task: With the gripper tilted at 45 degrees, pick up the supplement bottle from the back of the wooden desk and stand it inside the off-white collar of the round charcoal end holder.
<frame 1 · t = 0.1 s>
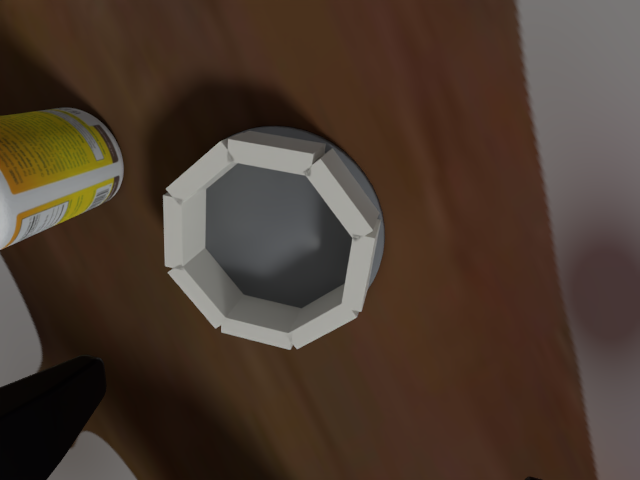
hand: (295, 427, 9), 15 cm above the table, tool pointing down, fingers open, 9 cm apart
end holder: (281, 230, 24), on the table
supplement bottle: (88, 156, 25), on the table
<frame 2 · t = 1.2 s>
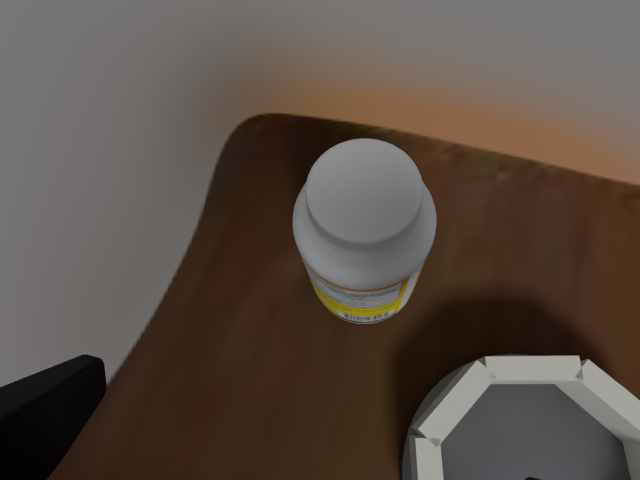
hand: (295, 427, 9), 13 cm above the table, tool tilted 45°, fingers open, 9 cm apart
supplement bottle: (362, 277, 24), on the table
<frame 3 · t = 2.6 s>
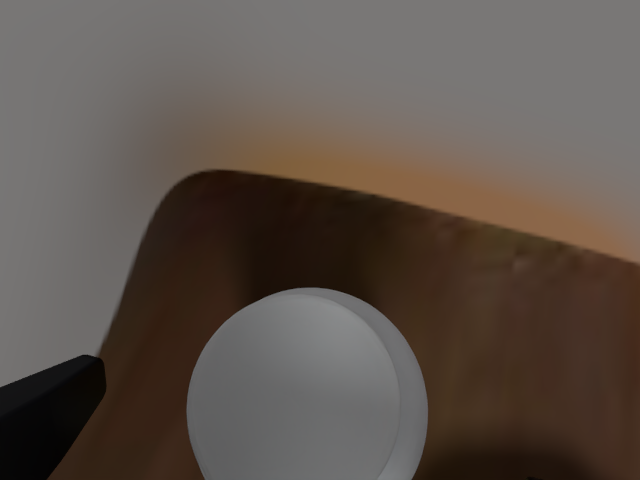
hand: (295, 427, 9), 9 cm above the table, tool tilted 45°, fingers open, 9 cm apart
supplement bottle: (328, 409, 17), on the table
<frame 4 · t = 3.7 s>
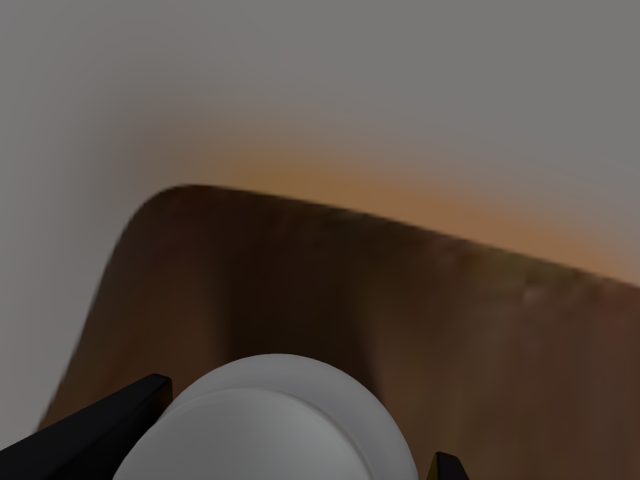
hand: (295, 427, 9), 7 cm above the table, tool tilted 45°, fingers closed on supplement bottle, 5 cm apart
supplement bottle: (313, 464, 15), on the table, touching gripper
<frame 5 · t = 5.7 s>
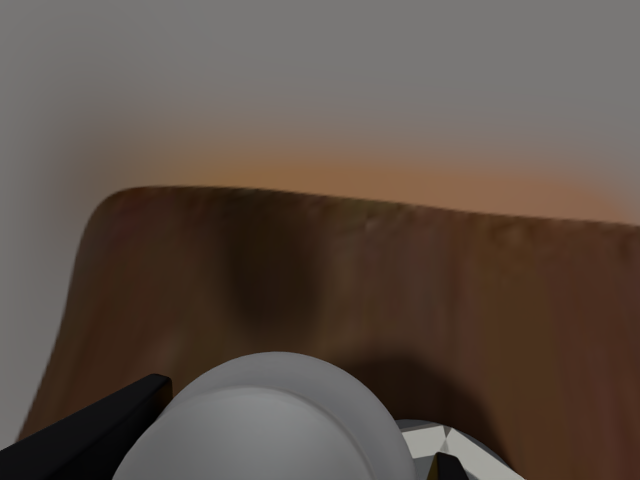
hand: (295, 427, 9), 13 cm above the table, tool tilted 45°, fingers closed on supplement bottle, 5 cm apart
supplement bottle: (312, 462, 15), point 6 cm above the table, touching gripper
when the fingers open (9 cm above the table, at t = 7.7 s): supplement bottle stays where it is, resting on end holder.
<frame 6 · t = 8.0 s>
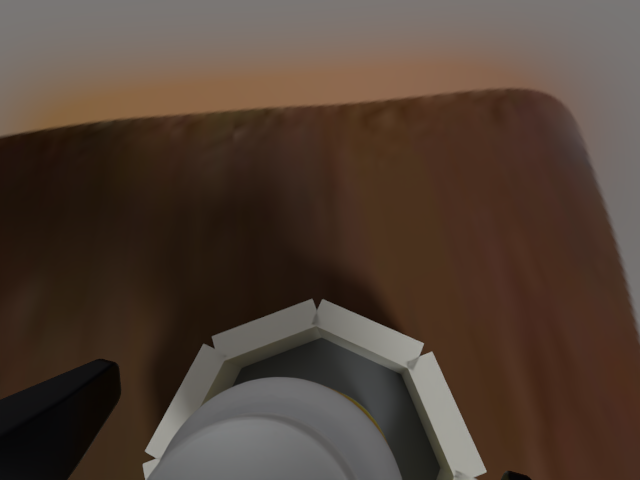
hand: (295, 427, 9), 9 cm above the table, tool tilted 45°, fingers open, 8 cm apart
end holder: (317, 458, 17), on the table
supplement bottle: (316, 466, 16), resting on end holder
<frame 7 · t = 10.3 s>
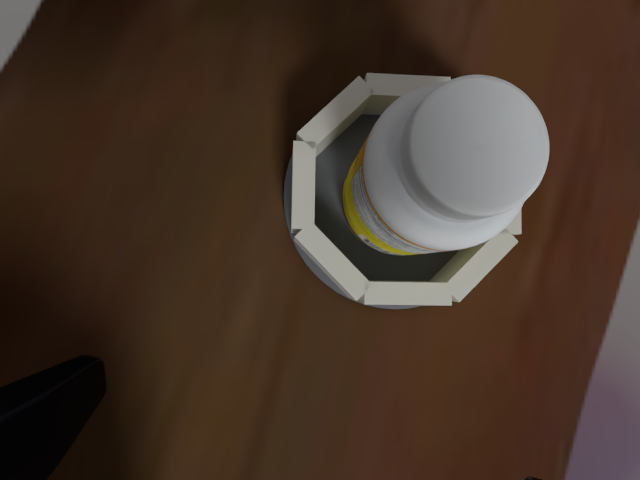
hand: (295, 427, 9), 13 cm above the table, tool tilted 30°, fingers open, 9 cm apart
end holder: (392, 199, 23), on the table
supplement bottle: (392, 201, 22), resting on end holder
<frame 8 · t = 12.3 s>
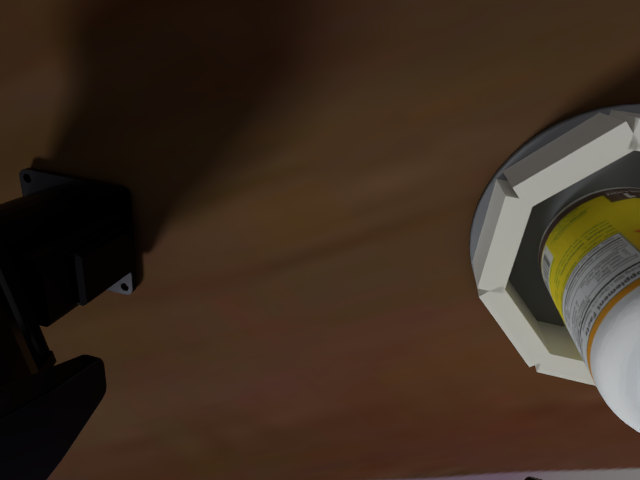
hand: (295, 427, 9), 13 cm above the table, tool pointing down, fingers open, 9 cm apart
end holder: (608, 240, 19), on the table
supplement bottle: (605, 245, 18), resting on end holder
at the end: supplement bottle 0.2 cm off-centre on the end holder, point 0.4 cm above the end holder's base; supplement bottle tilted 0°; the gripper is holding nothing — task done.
